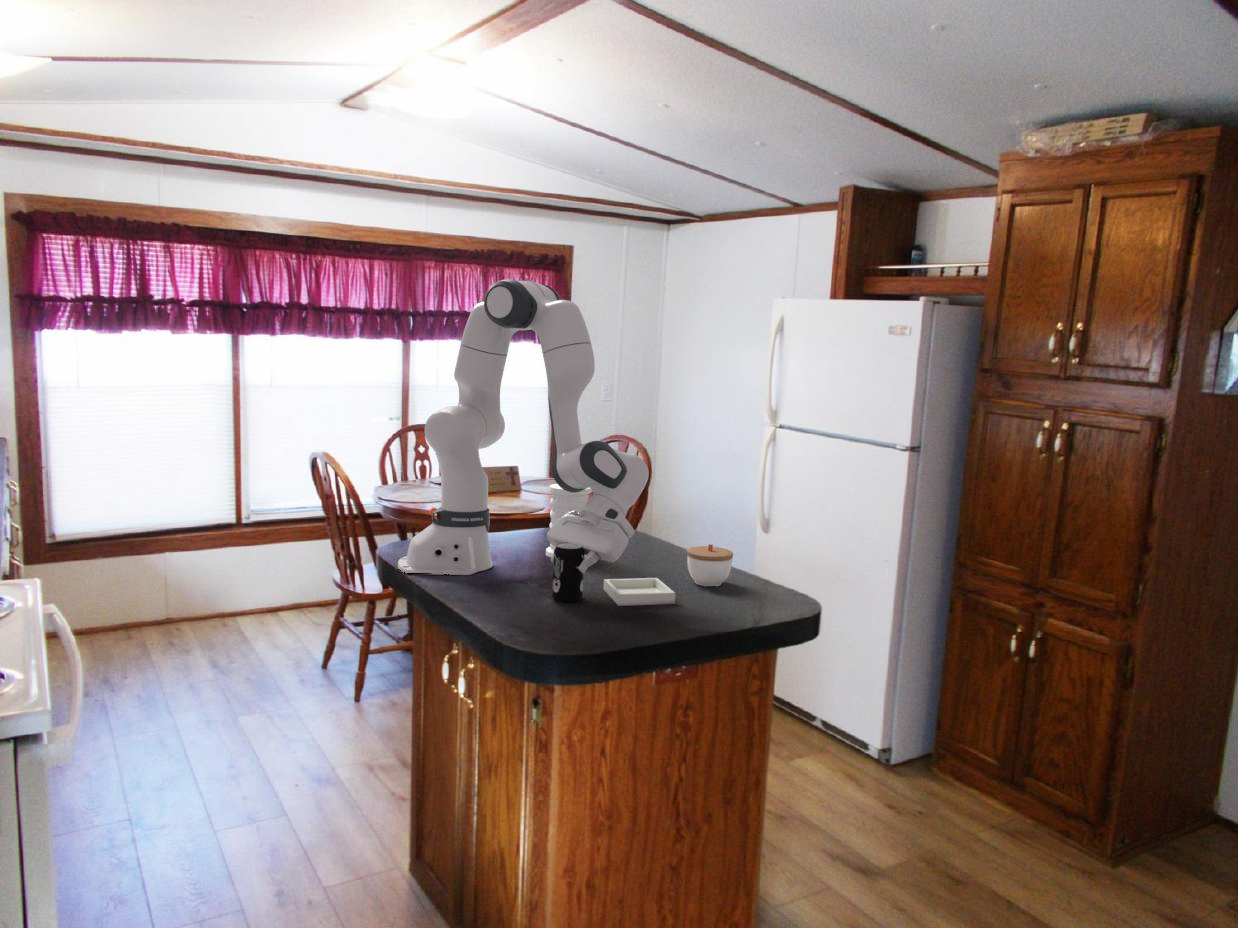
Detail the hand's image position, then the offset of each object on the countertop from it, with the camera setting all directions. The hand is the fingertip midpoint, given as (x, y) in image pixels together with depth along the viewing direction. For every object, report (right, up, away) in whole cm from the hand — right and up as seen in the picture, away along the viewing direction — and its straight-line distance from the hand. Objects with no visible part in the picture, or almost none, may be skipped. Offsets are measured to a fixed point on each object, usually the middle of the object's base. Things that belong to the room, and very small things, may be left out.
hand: (566, 566), depth 195 cm
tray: (+15, -7, +6) cm, 18 cm away
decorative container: (-2, -2, +42) cm, 42 cm away
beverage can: (0, -7, +1) cm, 7 cm away
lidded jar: (+32, -6, +20) cm, 38 cm away
